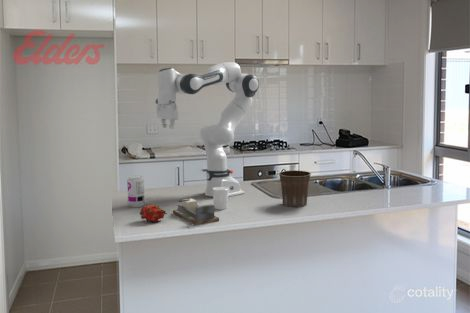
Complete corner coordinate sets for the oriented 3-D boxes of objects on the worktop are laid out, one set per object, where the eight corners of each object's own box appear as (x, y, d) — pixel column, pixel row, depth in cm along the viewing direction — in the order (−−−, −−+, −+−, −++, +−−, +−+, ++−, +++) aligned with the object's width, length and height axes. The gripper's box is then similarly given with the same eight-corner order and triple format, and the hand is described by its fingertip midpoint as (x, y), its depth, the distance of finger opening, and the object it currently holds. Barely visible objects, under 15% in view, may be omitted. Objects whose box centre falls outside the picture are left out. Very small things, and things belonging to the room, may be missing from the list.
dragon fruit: (138, 224, 213) (164, 227, 213) (136, 217, 205) (164, 221, 206) (141, 207, 217) (167, 210, 217) (140, 200, 209) (167, 203, 210)
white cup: (220, 205, 240) (219, 186, 238) (232, 207, 235) (231, 188, 233) (209, 208, 234) (209, 188, 232) (221, 210, 229) (221, 190, 227)
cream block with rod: (191, 208, 227) (191, 197, 226) (197, 211, 222) (196, 199, 221) (177, 210, 223) (176, 199, 222) (182, 213, 218) (181, 202, 217)
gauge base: (195, 209, 231) (195, 194, 230) (219, 221, 211) (218, 204, 210) (173, 213, 225) (172, 197, 224) (194, 225, 205) (194, 208, 204)
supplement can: (128, 208, 236) (127, 178, 234) (128, 204, 244) (126, 176, 242) (145, 207, 238) (144, 177, 236) (144, 203, 246) (142, 175, 244)
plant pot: (299, 210, 228) (299, 177, 226) (272, 205, 239) (272, 173, 236) (316, 203, 240) (317, 172, 238) (290, 199, 251) (290, 169, 249)
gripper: (181, 100, 229) (181, 129, 231) (165, 100, 247) (166, 126, 248) (168, 101, 226) (169, 129, 228) (154, 100, 243) (155, 127, 245)
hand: (167, 128), depth 238 cm, fingers open, 8 cm apart
